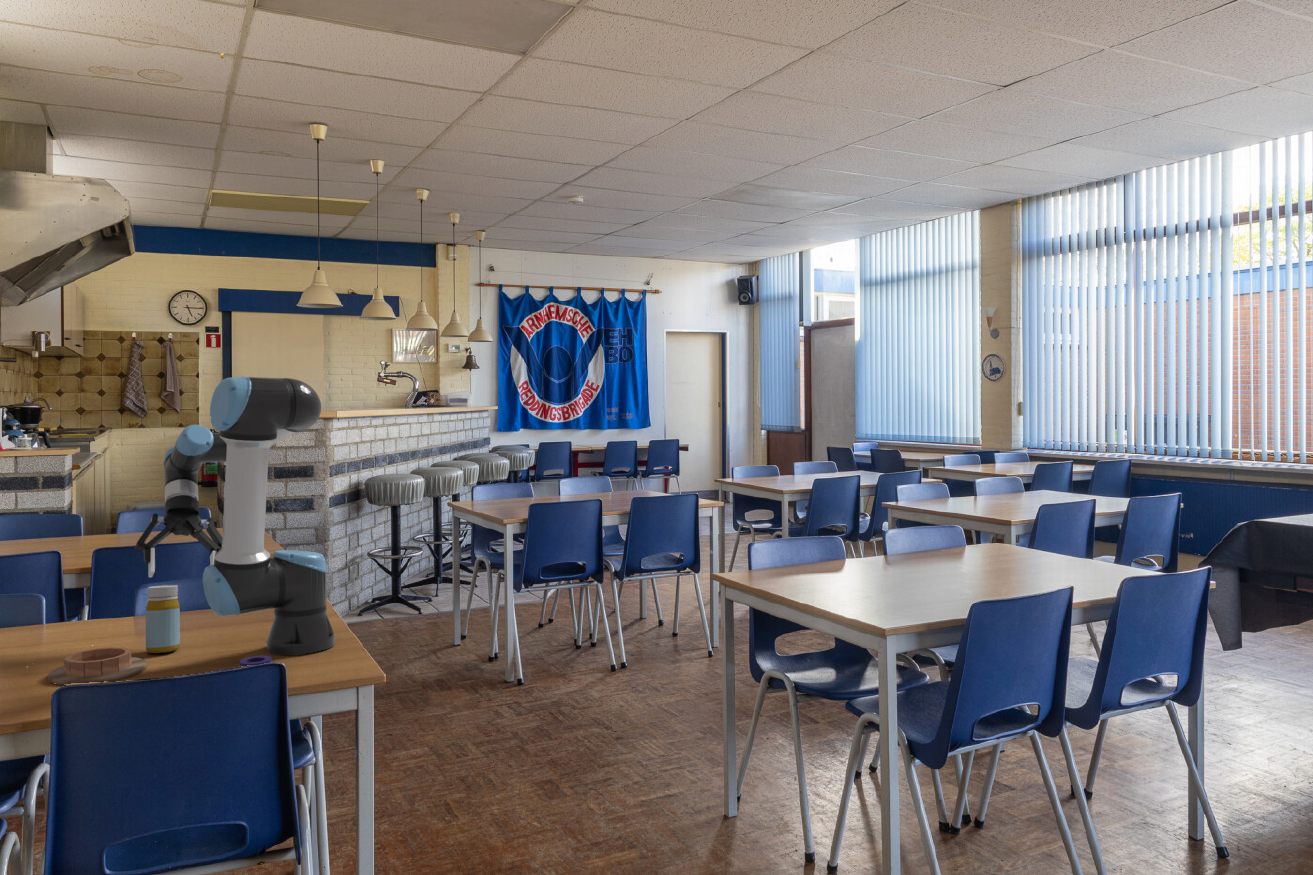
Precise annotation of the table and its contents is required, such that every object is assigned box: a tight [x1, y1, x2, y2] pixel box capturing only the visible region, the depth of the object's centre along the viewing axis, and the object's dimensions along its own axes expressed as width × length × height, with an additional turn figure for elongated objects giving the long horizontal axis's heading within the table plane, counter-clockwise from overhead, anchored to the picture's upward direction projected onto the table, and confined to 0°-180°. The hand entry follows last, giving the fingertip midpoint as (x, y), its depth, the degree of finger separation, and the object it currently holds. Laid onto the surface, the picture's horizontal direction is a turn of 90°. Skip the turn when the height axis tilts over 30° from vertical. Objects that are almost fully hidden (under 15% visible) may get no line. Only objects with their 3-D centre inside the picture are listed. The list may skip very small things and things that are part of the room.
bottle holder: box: [47, 646, 147, 686], centre depth 193 cm, size 18×18×4 cm
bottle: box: [145, 584, 181, 654], centre depth 210 cm, size 7×7×15 cm
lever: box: [239, 655, 273, 668], centre depth 190 cm, size 12×6×3 cm, turn 159°
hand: (183, 575), depth 213 cm, fingers open, 13 cm apart
